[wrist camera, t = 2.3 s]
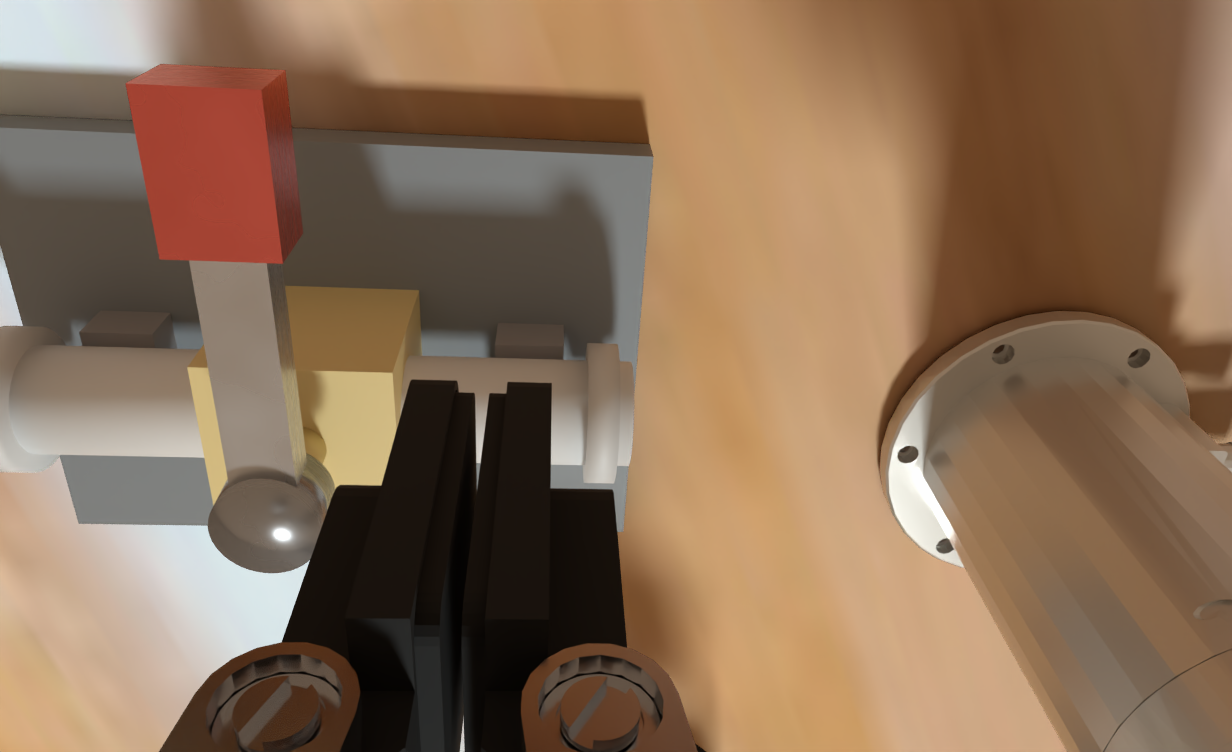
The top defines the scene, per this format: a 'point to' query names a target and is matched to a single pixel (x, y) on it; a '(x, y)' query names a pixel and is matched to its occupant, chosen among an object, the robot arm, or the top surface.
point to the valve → (320, 306)
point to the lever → (238, 289)
